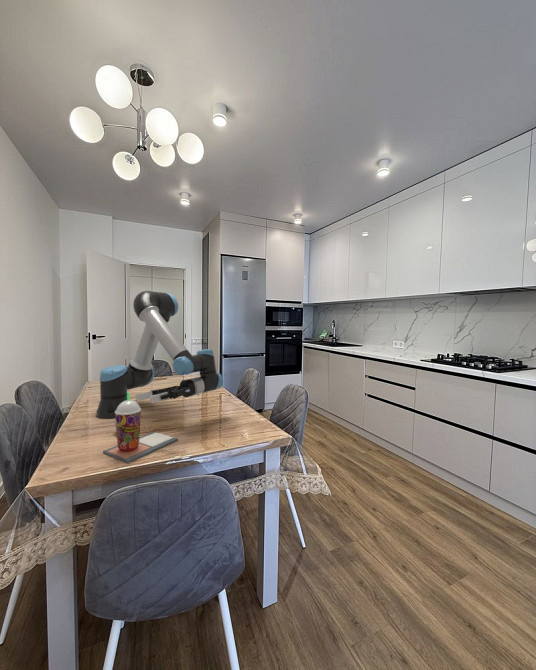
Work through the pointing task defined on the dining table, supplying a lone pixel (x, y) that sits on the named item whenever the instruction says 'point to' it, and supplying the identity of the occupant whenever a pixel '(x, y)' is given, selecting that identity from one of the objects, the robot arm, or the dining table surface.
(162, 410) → the dining table surface
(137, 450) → the game board
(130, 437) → the smoothie
